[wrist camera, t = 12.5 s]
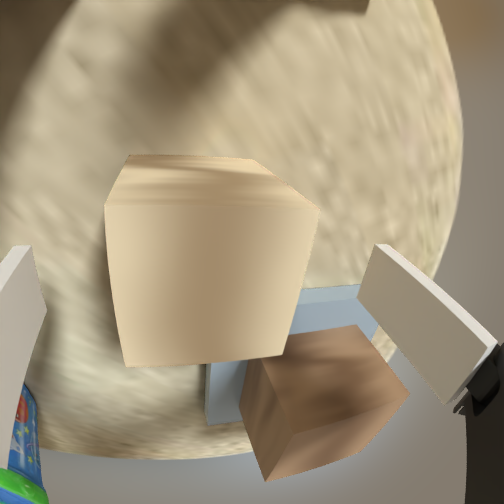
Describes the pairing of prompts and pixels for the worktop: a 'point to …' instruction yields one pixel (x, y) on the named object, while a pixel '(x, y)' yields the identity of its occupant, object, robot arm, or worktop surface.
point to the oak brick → (204, 259)
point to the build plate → (304, 320)
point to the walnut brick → (317, 400)
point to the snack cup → (23, 458)
